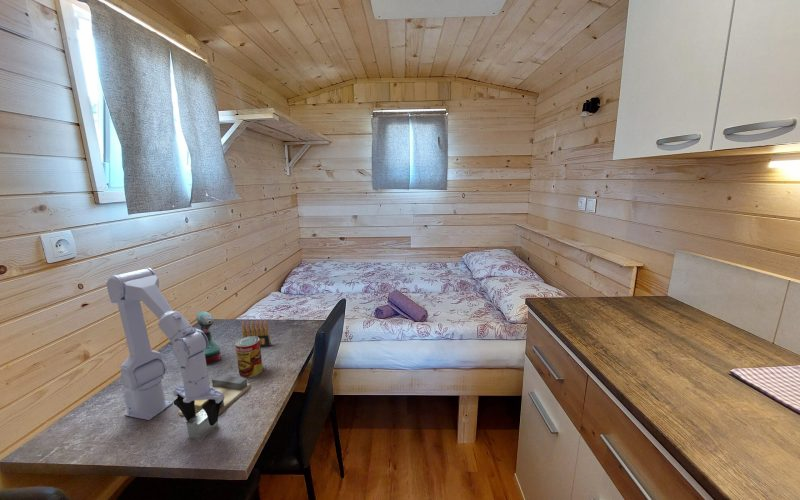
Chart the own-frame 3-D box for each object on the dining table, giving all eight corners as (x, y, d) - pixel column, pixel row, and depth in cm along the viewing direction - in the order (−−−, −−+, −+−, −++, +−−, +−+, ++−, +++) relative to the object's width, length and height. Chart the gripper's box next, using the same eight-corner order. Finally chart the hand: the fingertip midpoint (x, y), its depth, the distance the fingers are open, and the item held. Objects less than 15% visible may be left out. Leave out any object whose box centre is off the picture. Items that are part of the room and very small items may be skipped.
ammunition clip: (270, 344, 142) (268, 318, 140) (269, 346, 141) (267, 319, 138) (244, 346, 141) (241, 319, 138) (243, 348, 139) (239, 321, 137)
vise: (178, 414, 100) (176, 404, 99) (220, 381, 116) (219, 372, 115) (212, 420, 97) (210, 410, 96) (250, 386, 113) (249, 377, 112)
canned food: (234, 375, 120) (230, 344, 117) (250, 364, 127) (247, 334, 125) (251, 379, 117) (247, 347, 115) (267, 367, 124) (264, 337, 122)
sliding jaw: (179, 411, 99) (177, 402, 99) (194, 400, 105) (192, 390, 104) (210, 417, 97) (208, 407, 96) (224, 405, 102) (222, 395, 101)
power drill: (205, 373, 121) (198, 321, 117) (196, 356, 133) (189, 309, 129) (227, 365, 126) (220, 316, 122) (216, 350, 138) (210, 304, 134)
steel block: (189, 438, 91) (186, 422, 90) (206, 423, 96) (204, 407, 95) (201, 440, 90) (198, 424, 89) (218, 425, 95) (215, 409, 94)
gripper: (159, 381, 87) (168, 427, 90) (206, 388, 84) (213, 435, 87) (183, 367, 94) (190, 409, 97) (226, 373, 91) (232, 417, 93)
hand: (202, 421), depth 92 cm, fingers open, 7 cm apart
